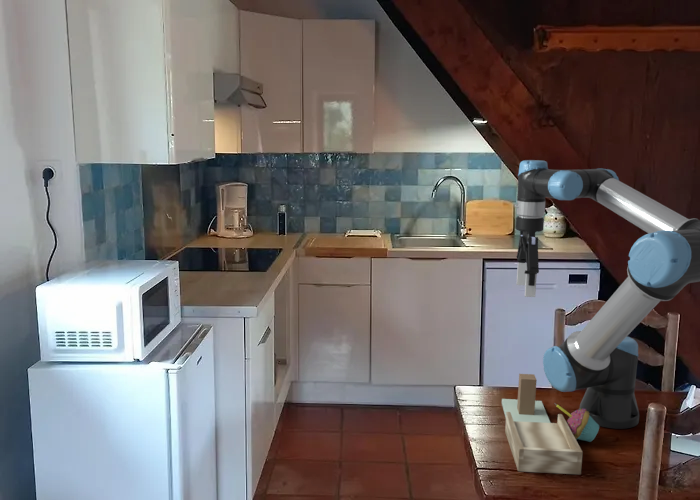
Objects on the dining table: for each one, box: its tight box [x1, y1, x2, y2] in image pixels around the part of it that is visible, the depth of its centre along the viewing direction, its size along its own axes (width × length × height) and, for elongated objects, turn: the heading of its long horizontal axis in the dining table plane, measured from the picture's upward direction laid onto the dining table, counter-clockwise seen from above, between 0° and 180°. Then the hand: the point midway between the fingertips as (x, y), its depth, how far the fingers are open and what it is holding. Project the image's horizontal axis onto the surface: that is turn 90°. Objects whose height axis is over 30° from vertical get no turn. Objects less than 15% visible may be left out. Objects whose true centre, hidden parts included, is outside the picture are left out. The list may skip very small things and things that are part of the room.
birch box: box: [504, 412, 584, 475], centre depth 161 cm, size 14×20×6 cm
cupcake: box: [554, 403, 600, 443], centre depth 167 cm, size 9×8×12 cm
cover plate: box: [501, 373, 551, 423], centre depth 180 cm, size 11×16×12 cm
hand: (525, 290), depth 188 cm, fingers open, 13 cm apart
